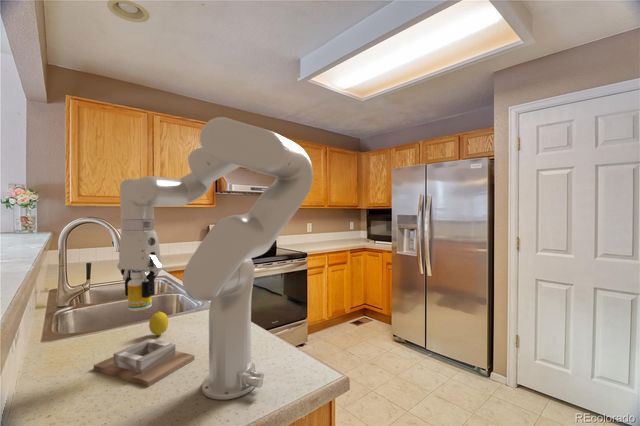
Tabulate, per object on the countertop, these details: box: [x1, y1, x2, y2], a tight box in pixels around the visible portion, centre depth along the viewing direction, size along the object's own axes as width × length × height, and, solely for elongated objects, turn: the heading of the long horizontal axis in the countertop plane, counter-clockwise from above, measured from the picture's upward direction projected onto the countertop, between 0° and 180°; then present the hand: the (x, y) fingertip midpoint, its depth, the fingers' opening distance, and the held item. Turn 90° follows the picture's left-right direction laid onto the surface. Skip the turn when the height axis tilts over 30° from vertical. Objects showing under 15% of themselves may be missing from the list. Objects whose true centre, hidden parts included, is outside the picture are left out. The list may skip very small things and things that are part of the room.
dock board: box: [93, 338, 195, 387], centre depth 82 cm, size 20×14×4 cm
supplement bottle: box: [127, 271, 153, 312], centre depth 81 cm, size 5×5×10 cm
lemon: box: [148, 311, 169, 337], centre depth 101 cm, size 6×6×8 cm
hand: (139, 294), depth 81 cm, fingers closed on supplement bottle, 5 cm apart
